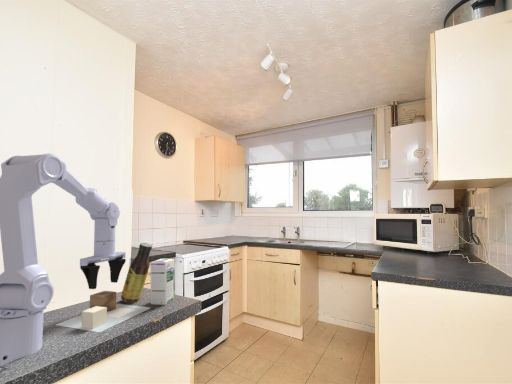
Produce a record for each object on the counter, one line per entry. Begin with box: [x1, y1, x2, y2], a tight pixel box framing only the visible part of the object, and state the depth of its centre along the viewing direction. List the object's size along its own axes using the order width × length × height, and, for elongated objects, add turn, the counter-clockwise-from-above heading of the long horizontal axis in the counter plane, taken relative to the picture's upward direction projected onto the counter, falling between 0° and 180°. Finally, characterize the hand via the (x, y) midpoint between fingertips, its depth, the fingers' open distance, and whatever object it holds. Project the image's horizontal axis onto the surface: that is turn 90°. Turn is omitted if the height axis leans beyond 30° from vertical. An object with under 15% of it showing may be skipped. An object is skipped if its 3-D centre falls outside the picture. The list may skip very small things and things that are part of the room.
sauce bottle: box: [120, 242, 153, 304], centre depth 90 cm, size 7×6×20 cm
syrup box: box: [149, 257, 176, 306], centre depth 89 cm, size 6×6×14 cm
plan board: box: [55, 303, 151, 333], centre depth 76 cm, size 18×16×1 cm
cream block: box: [81, 306, 107, 329], centre depth 70 cm, size 4×4×4 cm
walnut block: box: [89, 290, 117, 312], centre depth 81 cm, size 5×5×5 cm
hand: (103, 285), depth 82 cm, fingers open, 7 cm apart
